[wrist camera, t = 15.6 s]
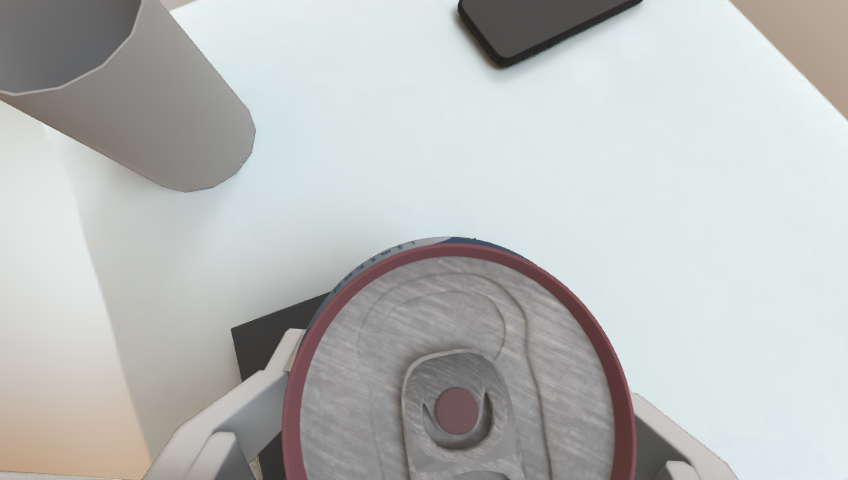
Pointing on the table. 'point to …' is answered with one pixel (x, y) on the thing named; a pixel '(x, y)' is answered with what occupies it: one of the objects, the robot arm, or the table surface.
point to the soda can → (456, 375)
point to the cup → (124, 87)
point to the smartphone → (532, 23)
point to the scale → (255, 353)
